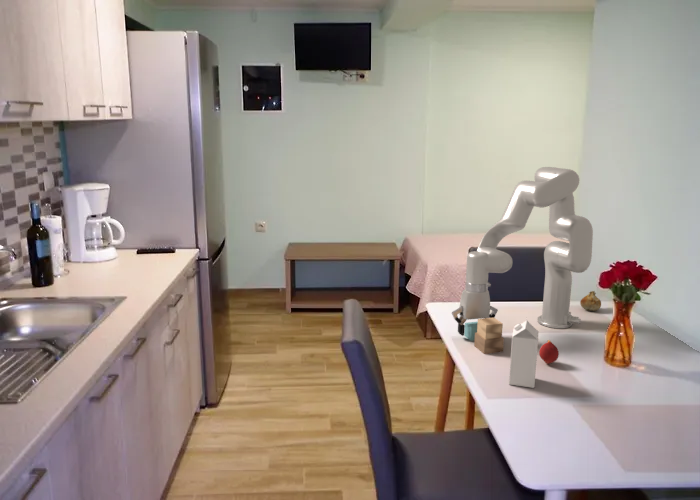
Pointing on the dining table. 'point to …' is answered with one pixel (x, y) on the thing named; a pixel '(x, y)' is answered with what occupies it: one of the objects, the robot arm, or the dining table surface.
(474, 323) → the teal cube
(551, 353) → the onion
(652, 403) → the dining table surface
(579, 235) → the robot arm
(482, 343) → the walnut base block
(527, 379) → the milk carton
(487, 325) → the oak middle block
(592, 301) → the onion
